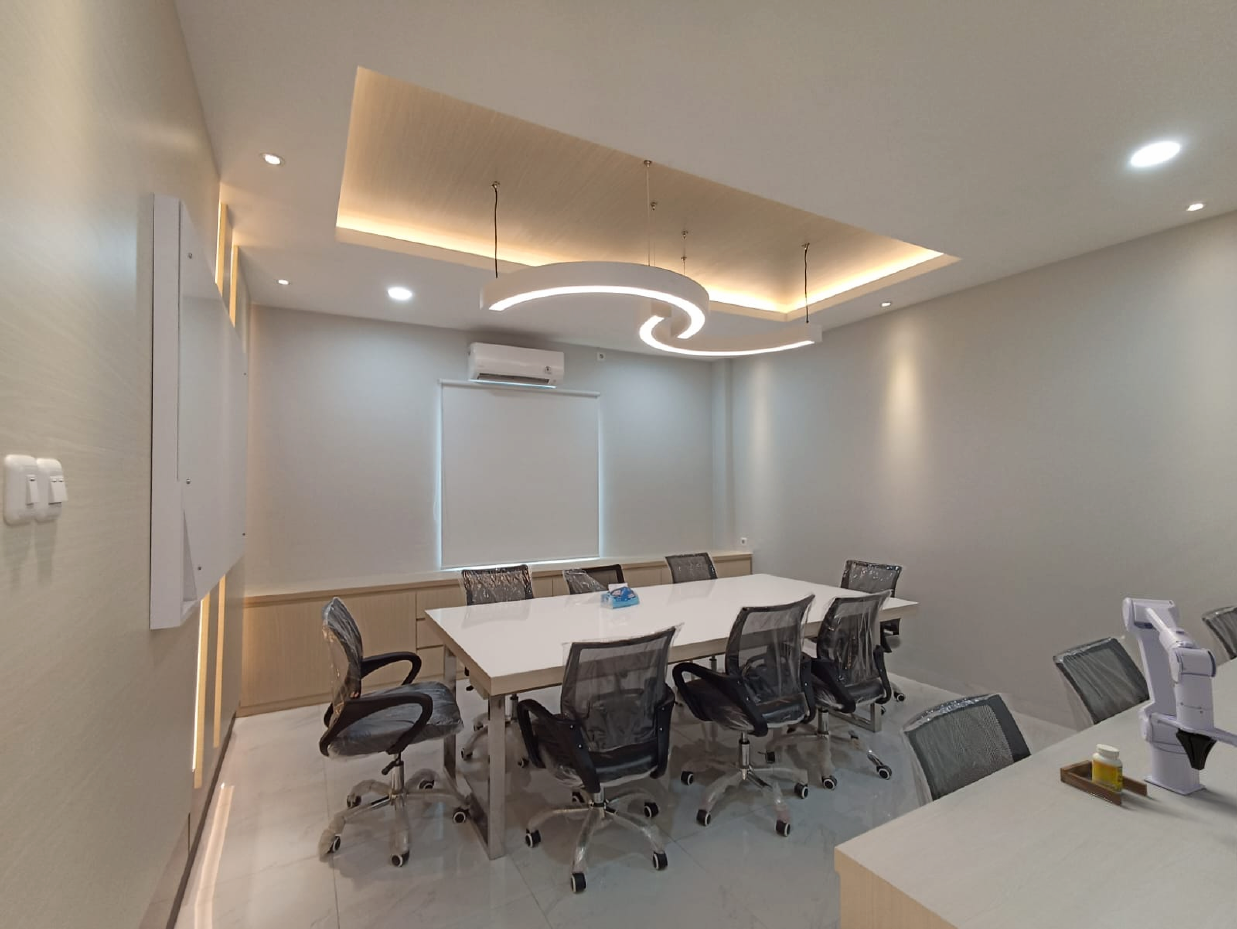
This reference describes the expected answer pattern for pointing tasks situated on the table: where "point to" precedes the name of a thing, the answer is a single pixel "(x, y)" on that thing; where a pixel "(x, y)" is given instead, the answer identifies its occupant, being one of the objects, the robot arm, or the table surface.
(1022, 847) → the table surface
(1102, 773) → the supplement bottle
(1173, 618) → the robot arm
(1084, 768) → the walnut slot rack
